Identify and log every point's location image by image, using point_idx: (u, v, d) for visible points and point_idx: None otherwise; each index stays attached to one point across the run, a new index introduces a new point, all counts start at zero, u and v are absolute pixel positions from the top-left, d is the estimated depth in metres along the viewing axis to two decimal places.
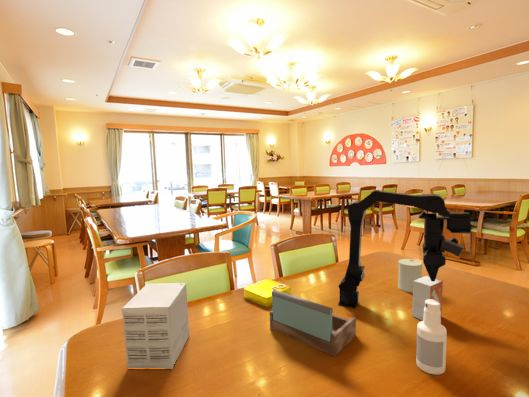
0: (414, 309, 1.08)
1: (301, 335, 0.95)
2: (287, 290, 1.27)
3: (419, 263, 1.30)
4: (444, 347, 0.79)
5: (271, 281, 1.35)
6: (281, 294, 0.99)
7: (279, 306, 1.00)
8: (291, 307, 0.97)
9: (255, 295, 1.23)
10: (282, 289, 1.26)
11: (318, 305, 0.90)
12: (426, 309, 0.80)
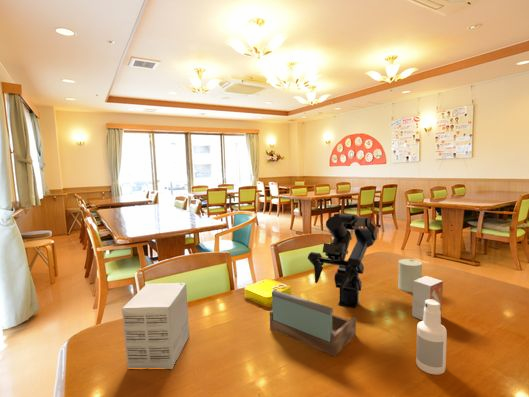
0: (414, 309, 1.08)
1: (301, 335, 0.95)
2: (288, 290, 1.27)
3: (419, 263, 1.30)
4: (444, 347, 0.79)
5: (271, 281, 1.35)
6: (281, 294, 0.99)
7: (279, 306, 1.00)
8: (291, 307, 0.97)
9: (256, 295, 1.23)
10: (283, 289, 1.26)
11: (318, 305, 0.90)
12: (426, 309, 0.80)
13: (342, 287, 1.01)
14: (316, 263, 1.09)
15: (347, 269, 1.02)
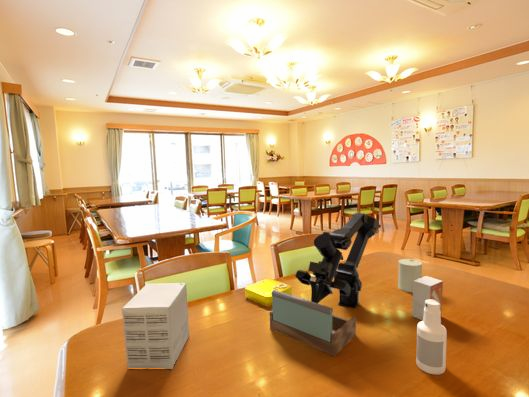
0: (414, 309, 1.08)
1: (301, 335, 0.95)
2: (288, 290, 1.27)
3: (419, 263, 1.30)
4: (444, 347, 0.79)
5: (272, 281, 1.35)
6: (281, 294, 0.99)
7: (279, 306, 1.00)
8: (291, 307, 0.97)
9: (256, 295, 1.24)
10: (283, 289, 1.27)
11: (318, 305, 0.90)
12: (426, 309, 0.80)
13: None
14: (313, 285, 1.03)
15: (320, 287, 1.01)
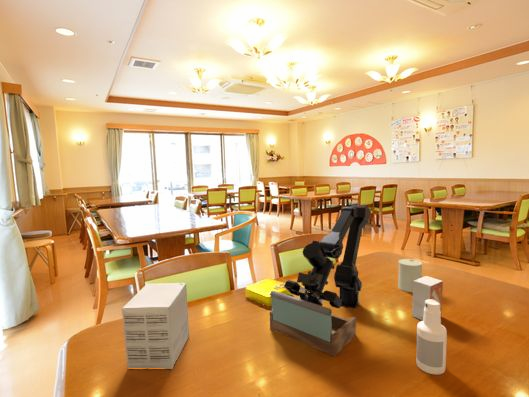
0: (414, 309, 1.08)
1: (301, 335, 0.95)
2: None
3: (419, 263, 1.30)
4: (444, 347, 0.79)
5: (272, 280, 1.36)
6: (280, 295, 0.98)
7: (278, 307, 1.00)
8: (290, 308, 0.96)
9: (257, 295, 1.24)
10: (284, 288, 1.27)
11: (317, 306, 0.90)
12: (426, 309, 0.80)
13: None
14: (303, 296, 0.98)
15: (309, 299, 0.97)
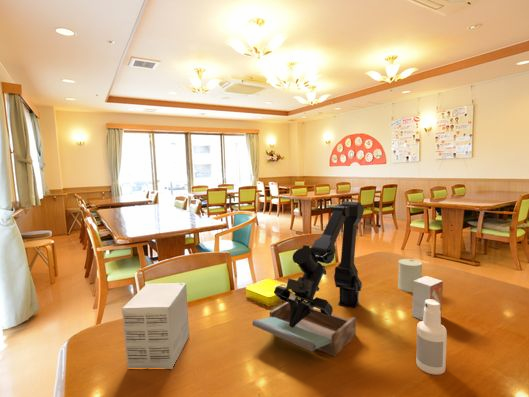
0: (414, 309, 1.08)
1: None
2: (289, 289, 1.27)
3: (419, 263, 1.30)
4: (444, 347, 0.79)
5: (272, 280, 1.36)
6: (262, 329, 0.93)
7: None
8: None
9: (258, 294, 1.24)
10: None
11: (299, 344, 0.84)
12: (426, 309, 0.80)
13: (292, 326, 0.92)
14: (292, 303, 0.94)
15: (299, 306, 0.93)
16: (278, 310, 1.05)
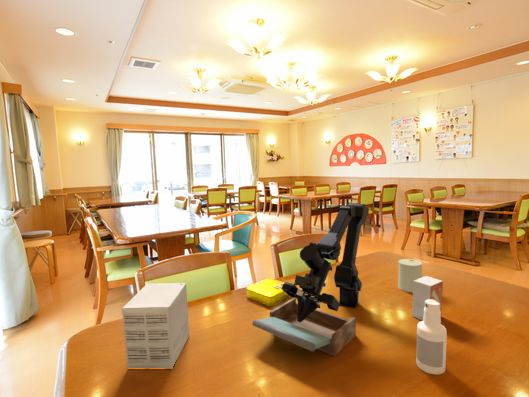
0: (414, 309, 1.08)
1: None
2: None
3: (419, 263, 1.30)
4: (444, 347, 0.79)
5: (273, 280, 1.36)
6: (262, 329, 0.93)
7: None
8: None
9: (258, 294, 1.24)
10: None
11: (299, 344, 0.84)
12: (426, 309, 0.80)
13: (300, 321, 0.95)
14: (300, 299, 0.97)
15: (306, 301, 0.96)
16: (278, 310, 1.05)
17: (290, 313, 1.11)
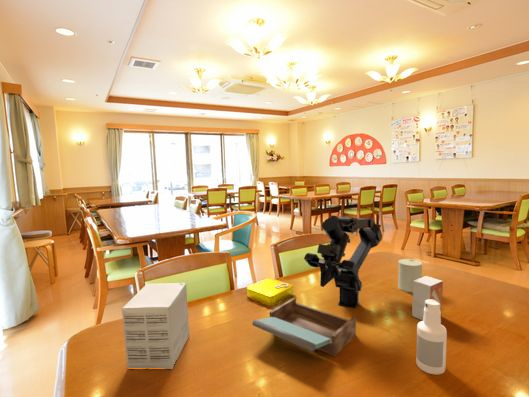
0: (414, 309, 1.08)
1: None
2: (290, 289, 1.28)
3: (419, 263, 1.30)
4: (444, 347, 0.79)
5: (273, 280, 1.36)
6: (262, 329, 0.93)
7: None
8: None
9: (259, 294, 1.24)
10: (285, 288, 1.27)
11: (299, 344, 0.84)
12: (426, 309, 0.80)
13: (323, 285, 1.04)
14: (322, 266, 1.06)
15: (329, 268, 1.05)
16: (278, 310, 1.05)
17: (290, 313, 1.11)
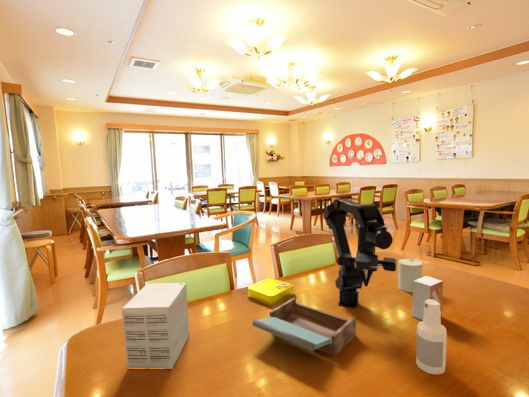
0: (414, 309, 1.08)
1: None
2: (291, 288, 1.28)
3: (419, 263, 1.30)
4: (444, 347, 0.79)
5: (274, 280, 1.36)
6: (262, 329, 0.93)
7: None
8: None
9: (260, 294, 1.24)
10: (286, 287, 1.28)
11: (299, 344, 0.84)
12: (426, 309, 0.80)
13: (367, 285, 1.07)
14: (362, 270, 1.05)
15: (369, 271, 1.04)
16: (278, 310, 1.05)
17: (290, 313, 1.11)
